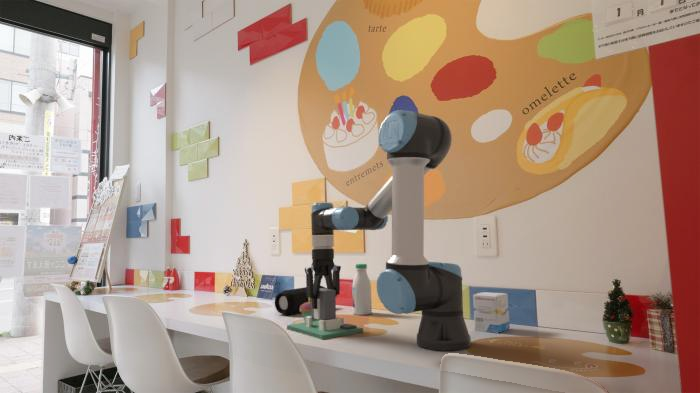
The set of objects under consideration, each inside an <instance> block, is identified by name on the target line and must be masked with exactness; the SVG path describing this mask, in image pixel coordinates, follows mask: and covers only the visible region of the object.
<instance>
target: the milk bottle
mask: <svg viewBox="0 0 700 393" xmlns="http://www.w3.org/2000/svg"><path fill="white" fill-rule="evenodd" d="M367 266H368V265H367V263H357V264H355V275H354V278H353V280H352V288H351V289H352V290H351V291H352V292H351V294H352V299H351V300H352V314H354V315H359V316H364V315H371V314H372V311H373V310H372V308H373V306H372V285H371V284H372V283H371V280H370V277H369V275H368V273H367V270H368V269H367V268H368V267H367Z"/></svg>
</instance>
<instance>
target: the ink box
mask: <svg viewBox="0 0 700 393" xmlns="http://www.w3.org/2000/svg"><path fill="white" fill-rule="evenodd" d="M508 296H509V295H508V293H505V292H487V291H483V292H477V293H476V294H475V293H474V294H472V301H473V303H472V304H473V318H474V321H473V322H474V331H476V330H481V331H480V332H483V331H490V332H489V333H492V332H498V333H497V334H500V333H499V332H501V333H503V332H502V331H504V332H505V330H506V331H508V330H507V329H509V328H511V327H510V325H511V324H510V314H509V312H510V310H509V298H508ZM509 330H510V329H509Z"/></svg>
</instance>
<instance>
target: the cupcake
mask: <svg viewBox="0 0 700 393" xmlns="http://www.w3.org/2000/svg"><path fill="white" fill-rule="evenodd" d="M308 300H309V302H306V303H304V304H302V305H301V306H300V312H301V314H302V317H303V320H304V321H305V317H307V316H312V313H311V302H310V298H309V297H308ZM313 321H317V320H313Z"/></svg>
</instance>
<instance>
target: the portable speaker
mask: <svg viewBox="0 0 700 393" xmlns="http://www.w3.org/2000/svg"><path fill="white" fill-rule="evenodd" d="M320 288H324V289H327V287H324V286H323V285H320ZM306 302H309V300H308V297H307V290H306V287H305V286H304V287H298V288H293V289H292V288H291V289H285V290H281V291H280V292H279V293H277V295H276V296H275V299H274V306H275V309H276V311H277V312H278V313H279V314H281V315H284V316H285V315H286V316H291V315H295V314H300V313H301V314H302V312H300V306H301V305H302V304H304V303H306ZM310 302H311V298H310Z"/></svg>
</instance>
